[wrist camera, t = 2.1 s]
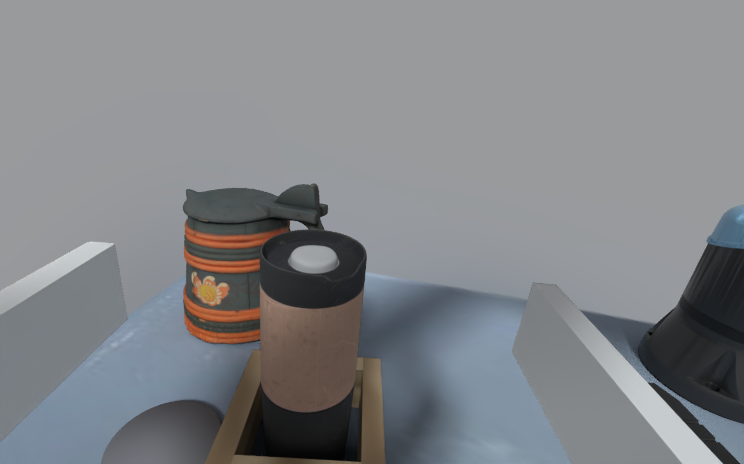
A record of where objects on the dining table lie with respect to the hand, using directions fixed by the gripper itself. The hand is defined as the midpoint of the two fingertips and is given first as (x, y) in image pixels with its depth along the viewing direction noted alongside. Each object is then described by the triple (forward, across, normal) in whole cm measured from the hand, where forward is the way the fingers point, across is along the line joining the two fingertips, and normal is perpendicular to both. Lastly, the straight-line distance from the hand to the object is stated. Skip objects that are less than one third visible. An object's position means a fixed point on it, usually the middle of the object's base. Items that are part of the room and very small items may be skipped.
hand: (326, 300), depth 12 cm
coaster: (+12, -14, -25) cm, 31 cm away
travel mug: (+14, -2, -25) cm, 28 cm away
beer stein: (+33, -12, -25) cm, 43 cm away
